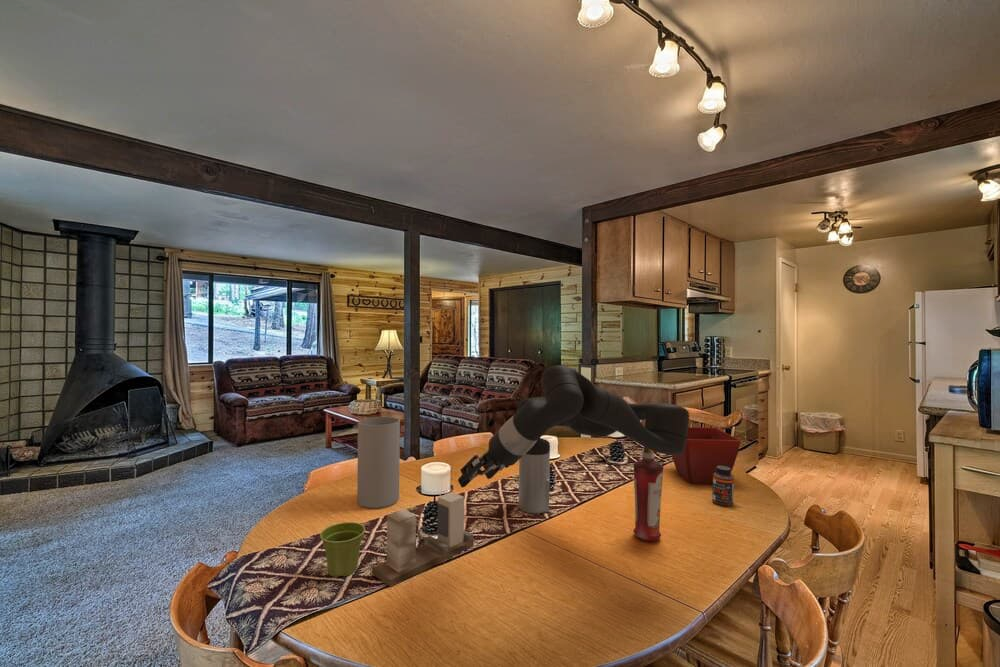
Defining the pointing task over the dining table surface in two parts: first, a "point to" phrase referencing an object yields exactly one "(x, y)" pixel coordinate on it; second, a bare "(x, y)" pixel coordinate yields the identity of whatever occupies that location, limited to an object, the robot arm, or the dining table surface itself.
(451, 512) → the block
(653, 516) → the liquor
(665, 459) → the dining table surface
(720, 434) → the plant pot
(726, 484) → the supplement bottle
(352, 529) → the plant pot
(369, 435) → the cylinder vase
